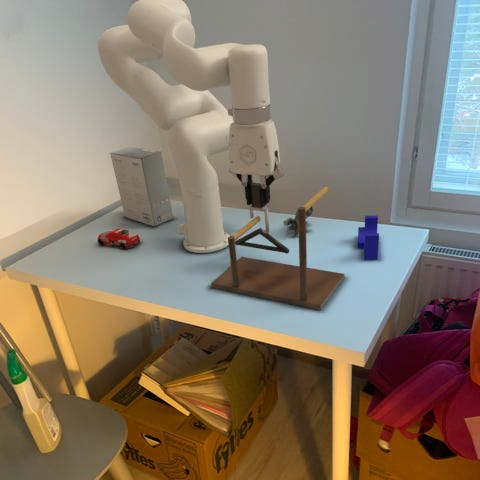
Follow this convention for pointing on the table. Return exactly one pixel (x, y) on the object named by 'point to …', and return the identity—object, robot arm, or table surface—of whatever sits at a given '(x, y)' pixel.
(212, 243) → the robot arm
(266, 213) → the hanger
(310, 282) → the rack
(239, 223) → the table surface
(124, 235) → the race car
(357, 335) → the table surface
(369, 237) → the cable clip
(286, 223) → the eagle figurine
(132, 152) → the hard drive box
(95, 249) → the table surface
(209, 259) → the table surface
